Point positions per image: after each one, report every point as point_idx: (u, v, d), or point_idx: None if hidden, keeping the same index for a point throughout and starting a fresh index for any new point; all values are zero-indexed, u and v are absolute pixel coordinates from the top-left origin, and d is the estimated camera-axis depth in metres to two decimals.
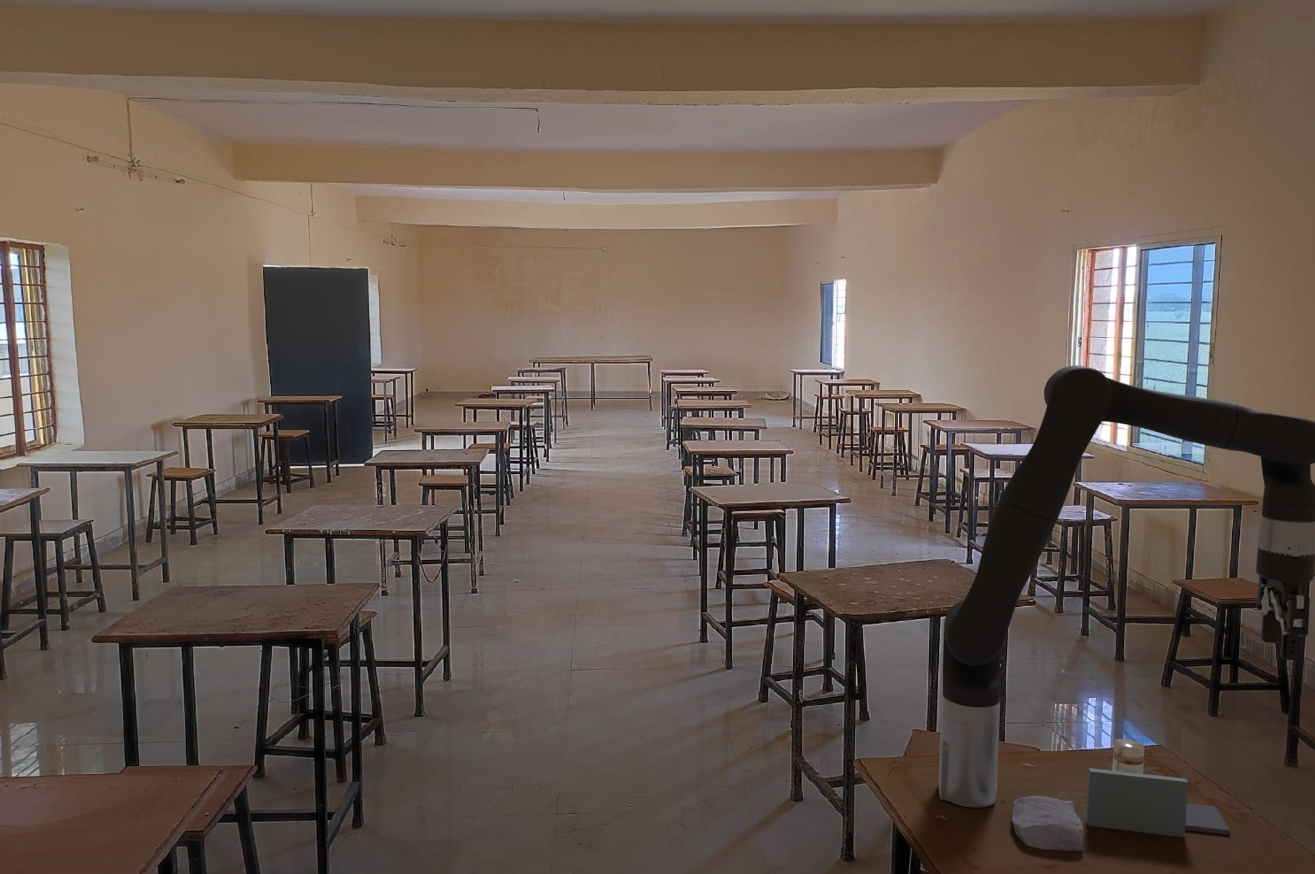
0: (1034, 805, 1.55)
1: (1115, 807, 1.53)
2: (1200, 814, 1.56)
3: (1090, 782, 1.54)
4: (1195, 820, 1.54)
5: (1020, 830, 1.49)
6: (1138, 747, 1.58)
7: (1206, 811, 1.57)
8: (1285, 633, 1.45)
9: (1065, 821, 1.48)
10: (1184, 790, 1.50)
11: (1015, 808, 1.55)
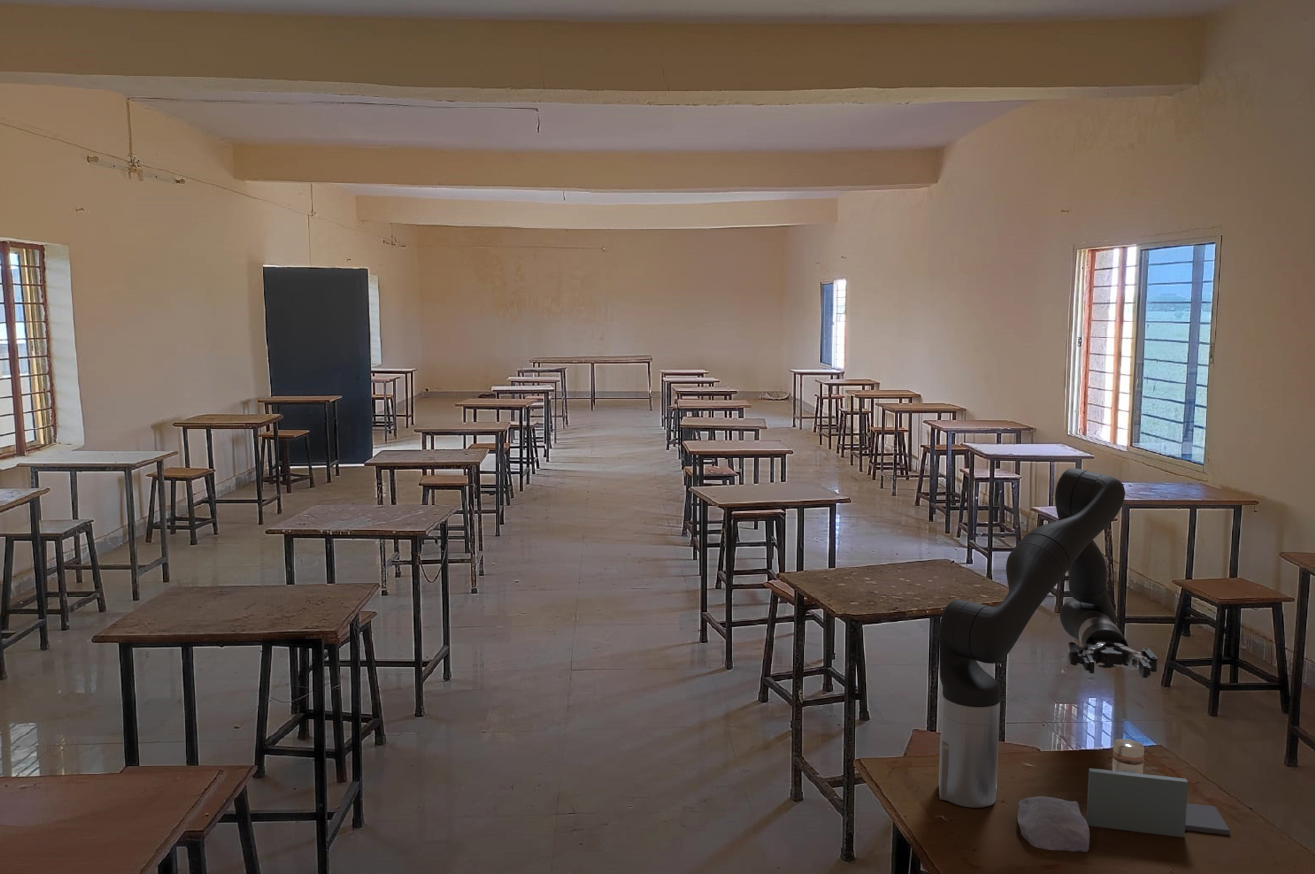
0: (1039, 806, 1.54)
1: (1115, 807, 1.53)
2: (1200, 814, 1.56)
3: (1090, 782, 1.54)
4: (1195, 820, 1.54)
5: (1026, 831, 1.49)
6: (1138, 746, 1.58)
7: (1206, 811, 1.57)
8: (1146, 659, 1.71)
9: (1071, 822, 1.48)
10: (1184, 790, 1.50)
11: (1020, 809, 1.55)
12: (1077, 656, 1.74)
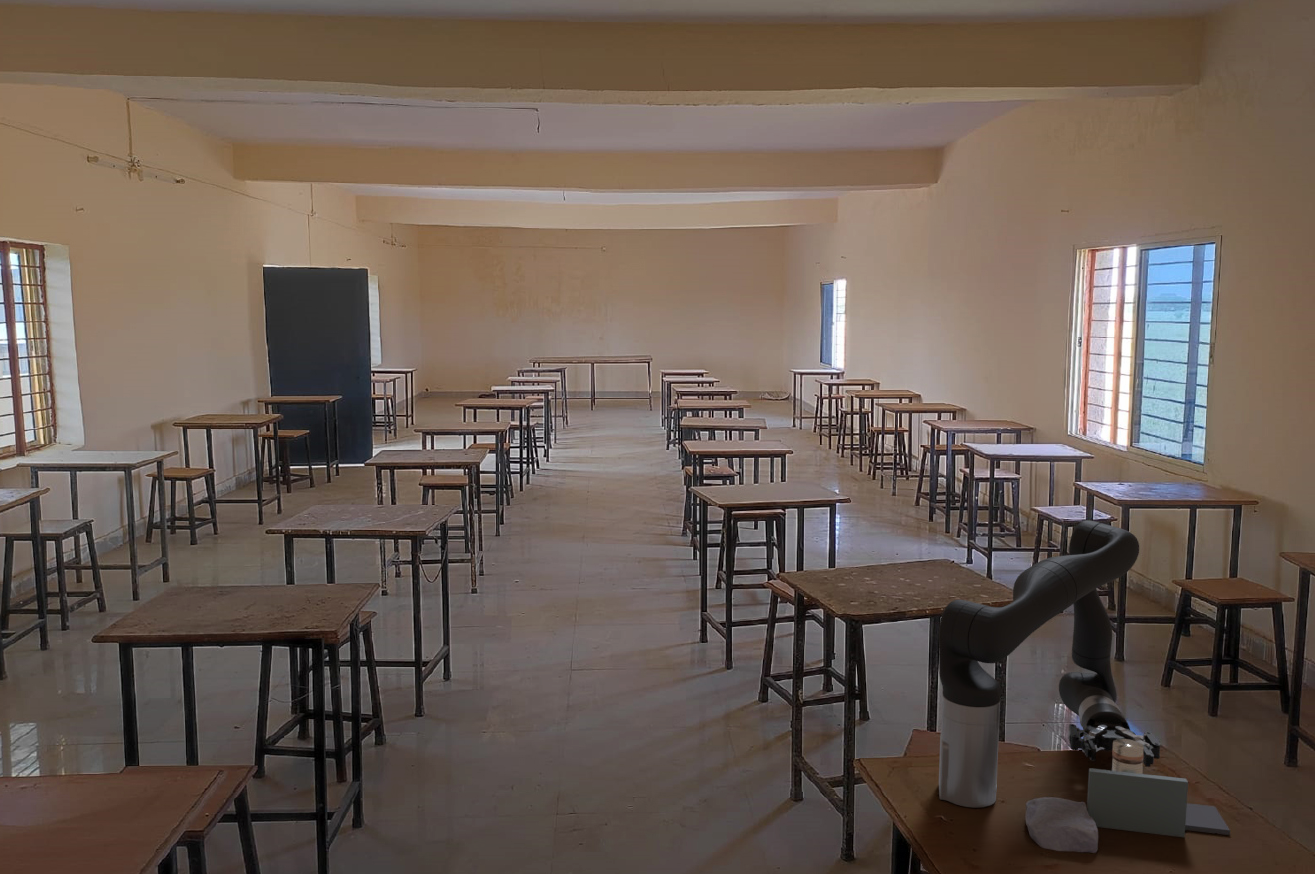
0: (1047, 807, 1.54)
1: (1115, 807, 1.53)
2: (1200, 814, 1.56)
3: (1090, 782, 1.54)
4: (1195, 820, 1.54)
5: (1034, 832, 1.49)
6: (1137, 746, 1.58)
7: (1206, 811, 1.57)
8: (1149, 745, 1.67)
9: (1079, 822, 1.47)
10: (1184, 790, 1.50)
11: (1028, 810, 1.55)
12: (1078, 741, 1.69)
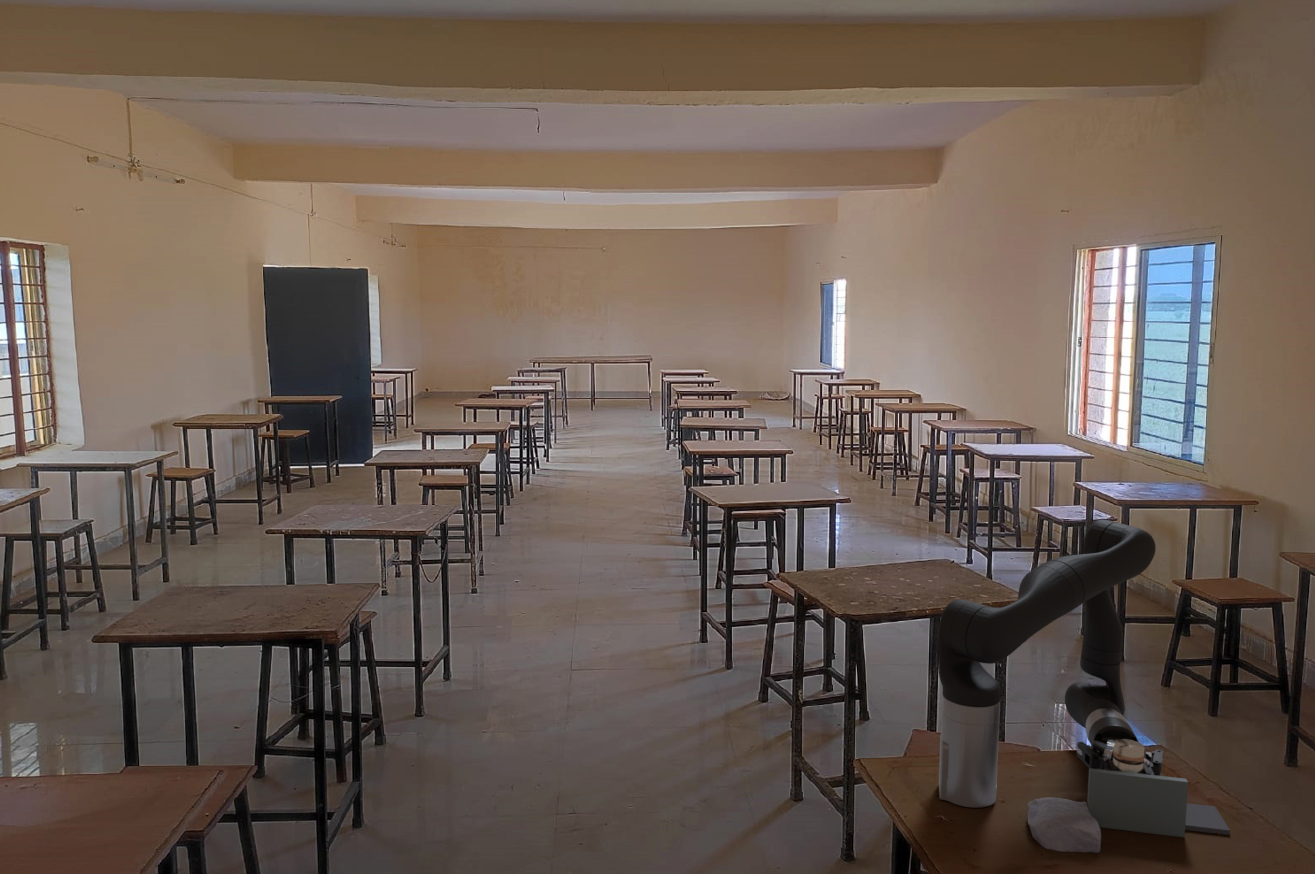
0: (1049, 807, 1.54)
1: (1115, 807, 1.53)
2: (1200, 814, 1.56)
3: (1090, 782, 1.54)
4: (1195, 820, 1.54)
5: (1037, 832, 1.48)
6: (1138, 746, 1.58)
7: (1206, 811, 1.57)
8: (1149, 763, 1.60)
9: (1082, 823, 1.47)
10: (1184, 790, 1.50)
11: (1030, 810, 1.54)
12: (1097, 761, 1.62)
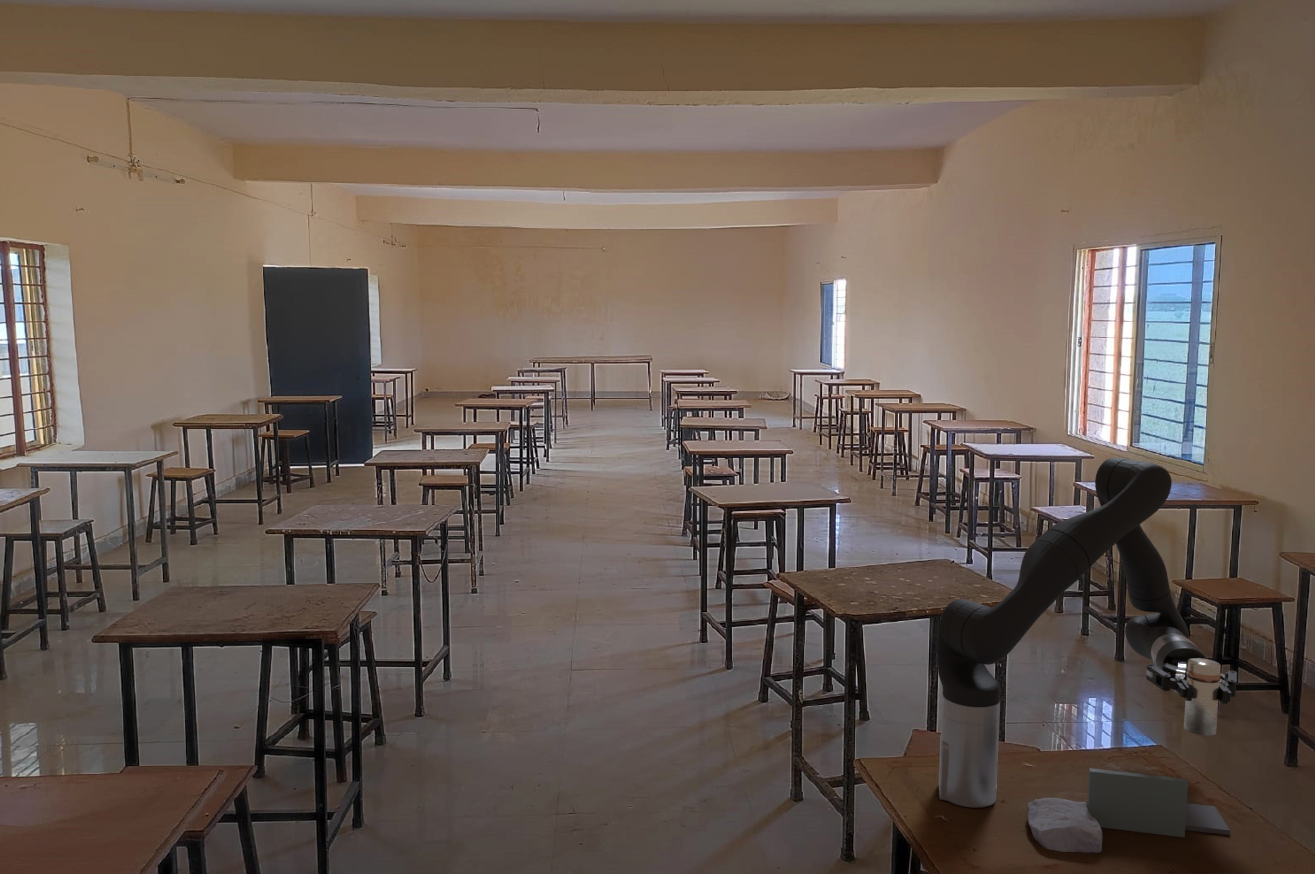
0: (1049, 807, 1.54)
1: (1115, 807, 1.53)
2: (1200, 814, 1.56)
3: (1090, 782, 1.54)
4: (1195, 820, 1.54)
5: (1039, 833, 1.48)
6: (1214, 664, 1.53)
7: (1206, 811, 1.57)
8: (1224, 682, 1.54)
9: (1083, 823, 1.47)
10: (1184, 790, 1.50)
11: (1030, 811, 1.54)
12: (1170, 681, 1.57)
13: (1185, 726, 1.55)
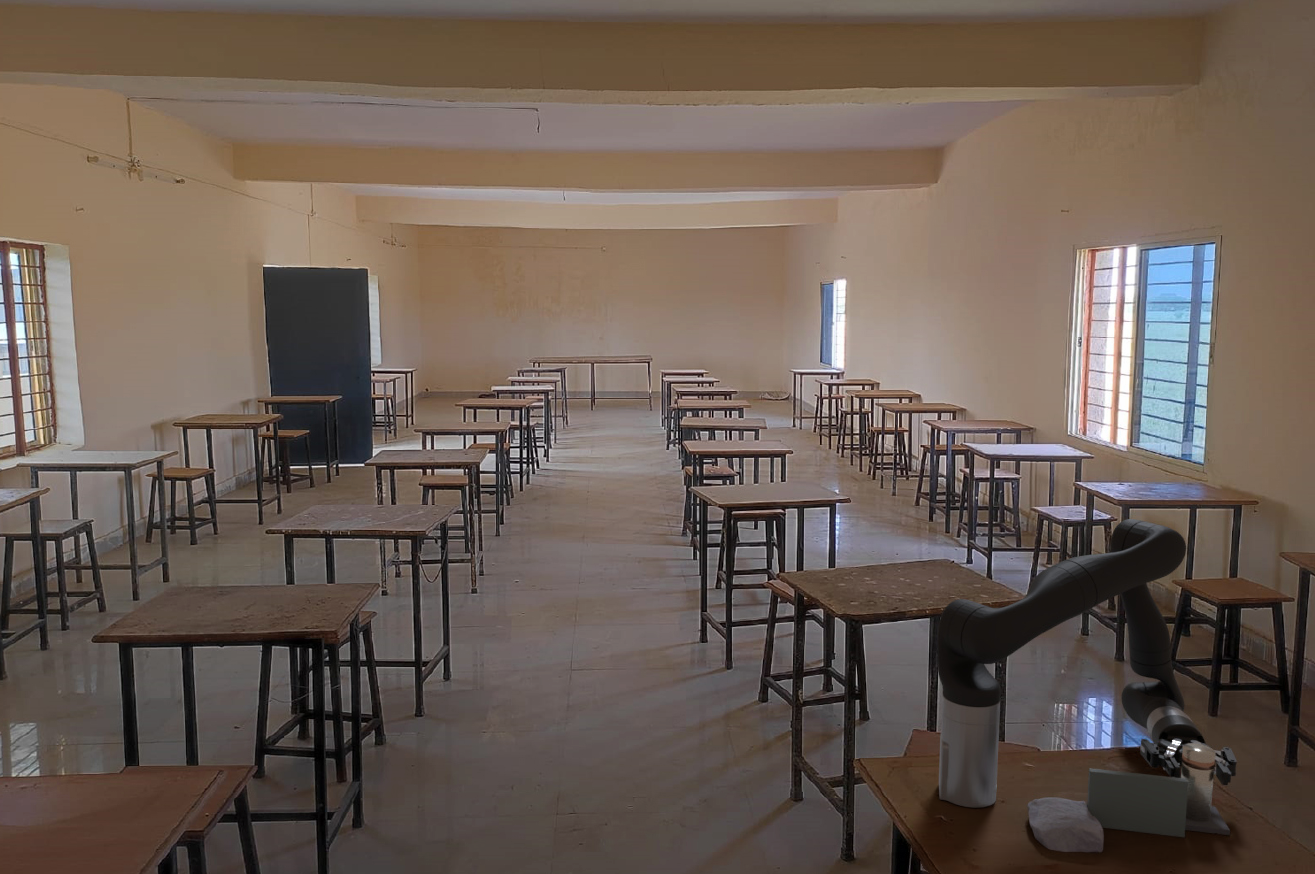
0: (1049, 807, 1.54)
1: (1115, 807, 1.53)
2: None
3: (1090, 782, 1.54)
4: None
5: (1040, 833, 1.48)
6: (1209, 751, 1.54)
7: None
8: (1225, 762, 1.56)
9: (1085, 822, 1.47)
10: (1184, 790, 1.50)
11: (1031, 811, 1.54)
12: (1158, 758, 1.59)
13: None
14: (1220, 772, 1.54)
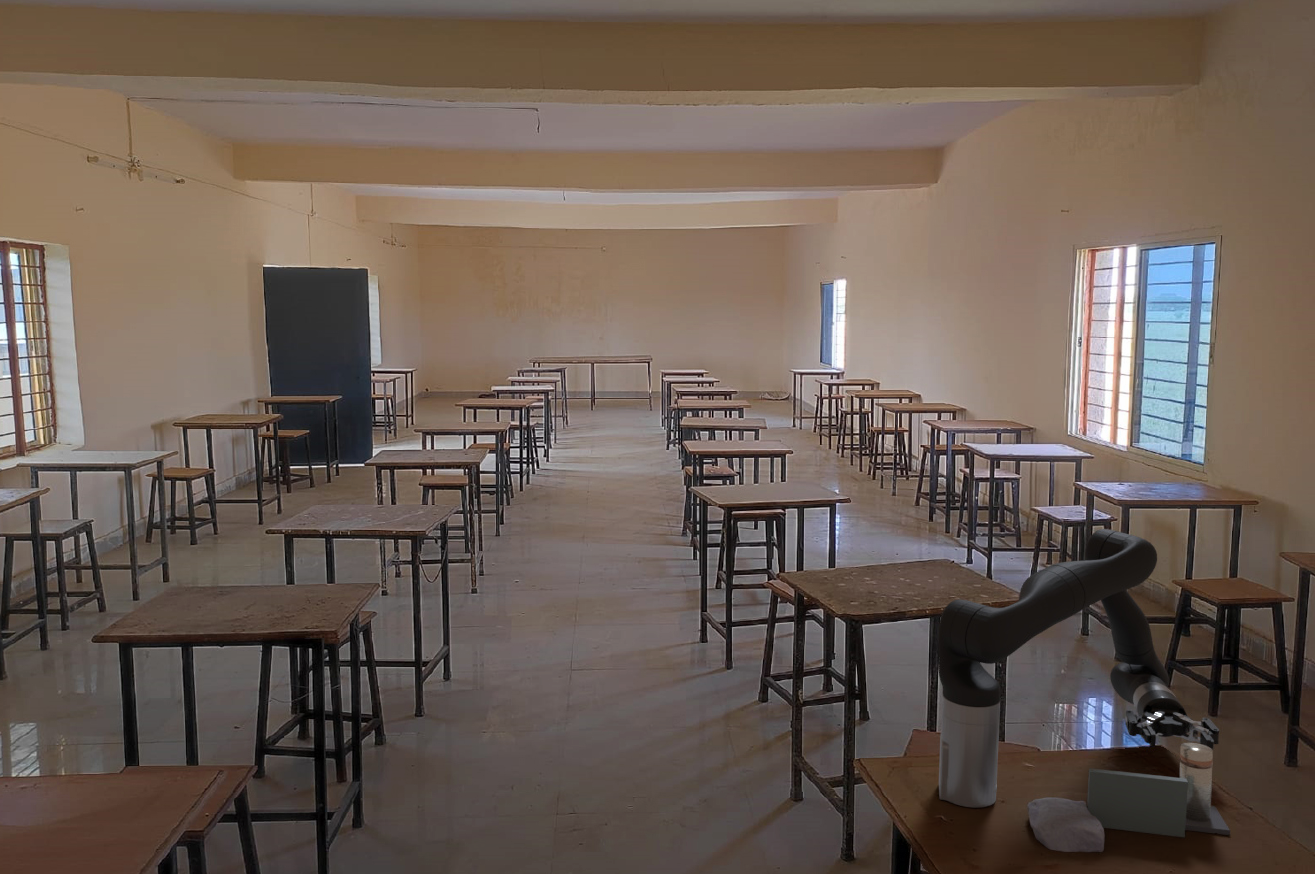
0: (1049, 807, 1.54)
1: (1115, 807, 1.53)
2: None
3: (1090, 782, 1.54)
4: None
5: (1041, 834, 1.48)
6: (1206, 750, 1.54)
7: None
8: (1208, 731, 1.68)
9: (1085, 822, 1.47)
10: (1184, 790, 1.50)
11: (1031, 811, 1.54)
12: (1136, 727, 1.71)
13: None
14: (1204, 740, 1.66)
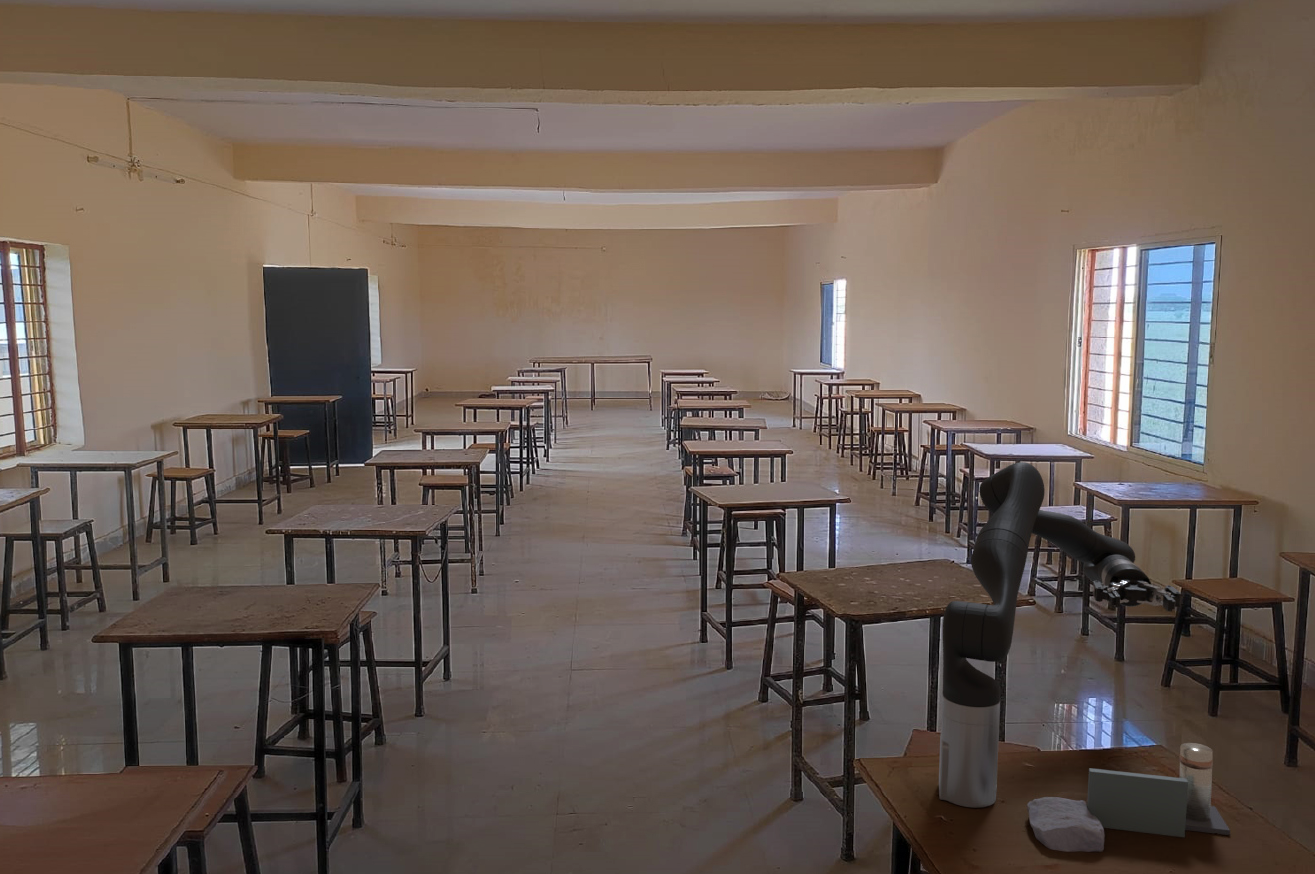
0: (1049, 807, 1.54)
1: (1115, 807, 1.53)
2: None
3: (1090, 782, 1.54)
4: None
5: (1041, 834, 1.48)
6: (1206, 751, 1.54)
7: None
8: (1170, 594, 1.75)
9: (1085, 822, 1.47)
10: (1184, 790, 1.50)
11: (1031, 811, 1.54)
12: (1102, 592, 1.78)
13: None
14: (1166, 601, 1.73)
